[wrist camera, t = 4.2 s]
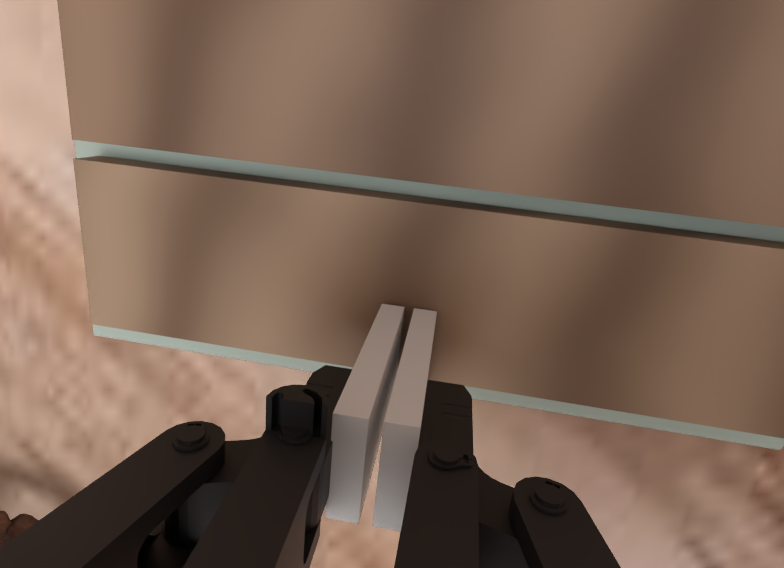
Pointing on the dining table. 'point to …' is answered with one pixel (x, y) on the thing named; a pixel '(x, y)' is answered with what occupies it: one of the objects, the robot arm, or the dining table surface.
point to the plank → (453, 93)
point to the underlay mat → (453, 194)
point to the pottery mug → (13, 526)
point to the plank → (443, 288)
